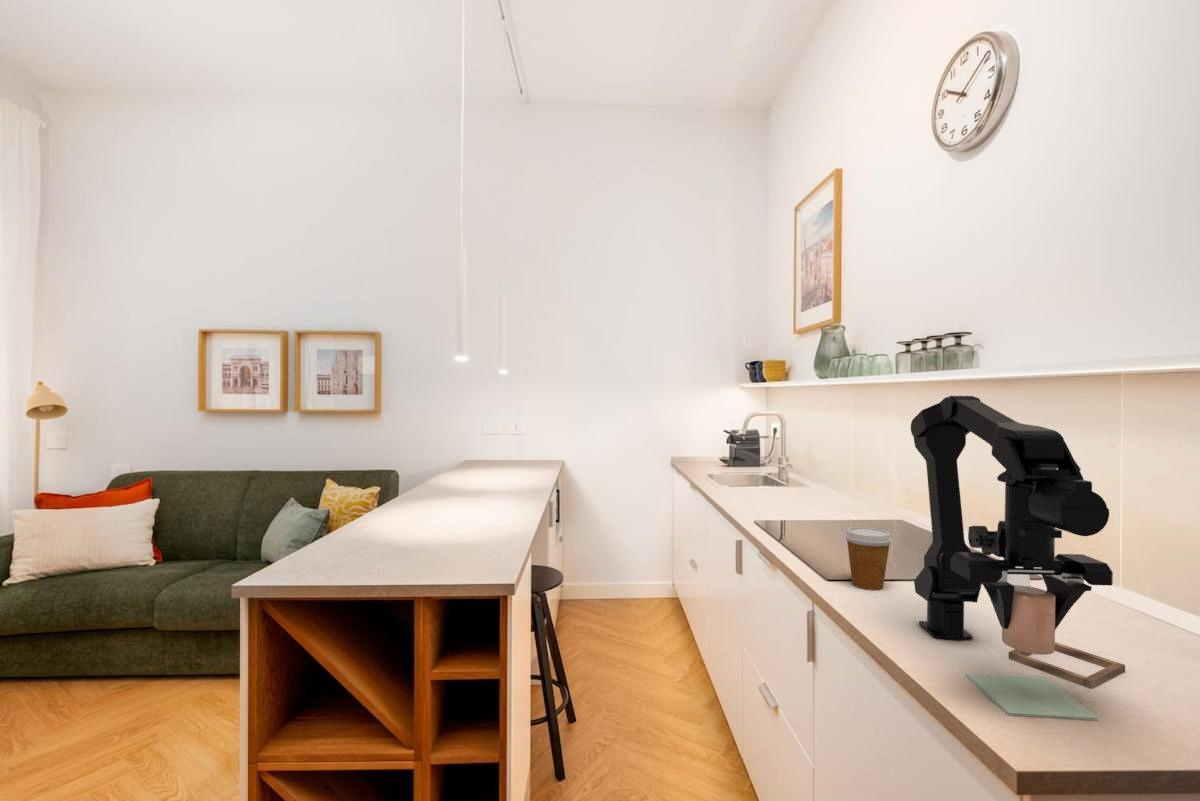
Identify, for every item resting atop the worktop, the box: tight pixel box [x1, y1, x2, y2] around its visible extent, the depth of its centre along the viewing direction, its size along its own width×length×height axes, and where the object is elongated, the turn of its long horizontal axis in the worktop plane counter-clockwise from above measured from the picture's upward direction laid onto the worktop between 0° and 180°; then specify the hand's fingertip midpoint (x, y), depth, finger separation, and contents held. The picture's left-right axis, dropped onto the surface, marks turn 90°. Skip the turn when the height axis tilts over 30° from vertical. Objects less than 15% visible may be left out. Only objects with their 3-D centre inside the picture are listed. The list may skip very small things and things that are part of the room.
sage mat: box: [965, 672, 1099, 721], centre depth 83 cm, size 11×11×1 cm
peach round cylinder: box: [1001, 585, 1056, 656], centre depth 82 cm, size 7×6×8 cm
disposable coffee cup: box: [844, 526, 893, 591], centre depth 130 cm, size 10×10×12 cm
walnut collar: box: [1008, 642, 1126, 689], centre depth 92 cm, size 11×11×1 cm
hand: (1027, 628), depth 82 cm, fingers closed on peach round cylinder, 6 cm apart
